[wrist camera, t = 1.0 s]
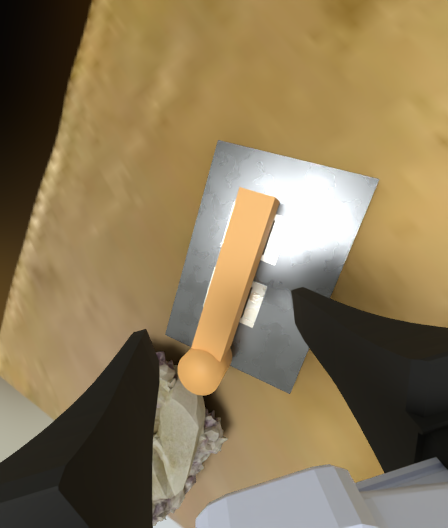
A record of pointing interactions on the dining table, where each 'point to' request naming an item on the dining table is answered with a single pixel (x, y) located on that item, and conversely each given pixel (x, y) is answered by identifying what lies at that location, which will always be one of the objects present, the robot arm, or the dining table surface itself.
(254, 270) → the orange rectangular block
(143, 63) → the dining table surface
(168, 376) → the geode
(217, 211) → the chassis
